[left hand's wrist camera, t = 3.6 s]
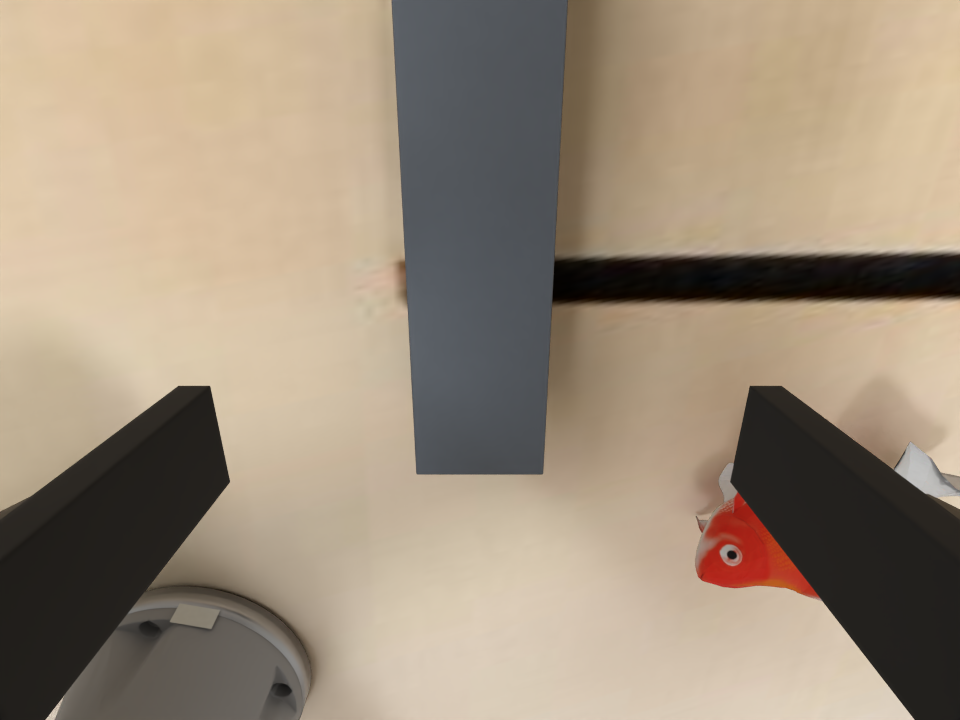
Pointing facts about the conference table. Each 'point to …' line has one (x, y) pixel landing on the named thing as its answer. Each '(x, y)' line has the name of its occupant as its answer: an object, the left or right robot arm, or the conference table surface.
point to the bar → (479, 224)
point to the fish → (754, 552)
